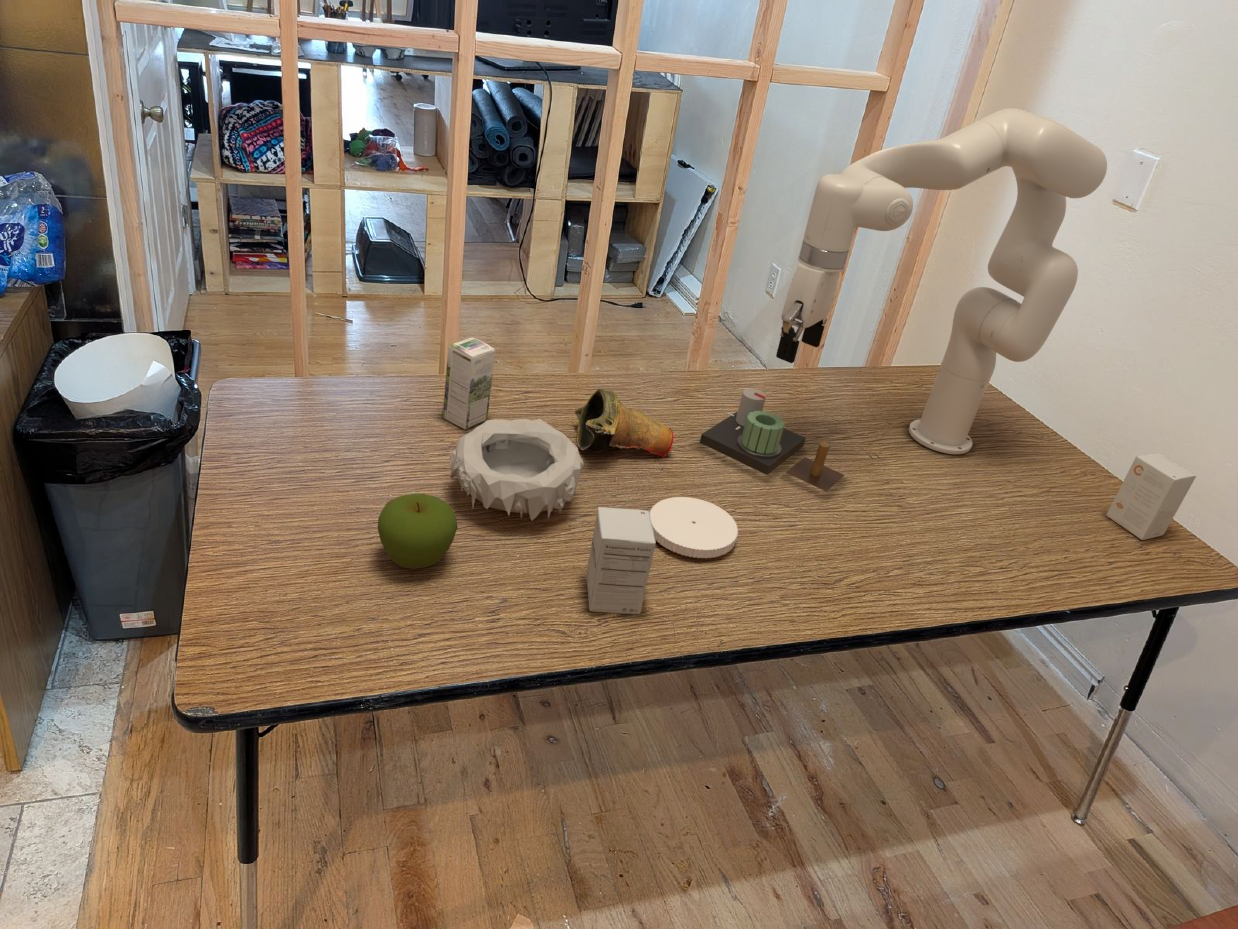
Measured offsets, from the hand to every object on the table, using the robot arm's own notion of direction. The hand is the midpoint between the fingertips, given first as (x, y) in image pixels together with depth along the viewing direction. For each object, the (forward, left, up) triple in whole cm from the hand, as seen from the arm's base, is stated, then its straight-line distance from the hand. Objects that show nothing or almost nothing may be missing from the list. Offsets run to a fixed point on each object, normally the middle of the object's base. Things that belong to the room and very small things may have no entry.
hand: (797, 351), depth 156 cm
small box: (-35, +59, -22) cm, 72 cm away
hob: (-1, -4, -22) cm, 22 cm away
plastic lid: (+31, +3, -22) cm, 38 cm away
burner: (+2, -1, -19) cm, 19 cm away
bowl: (+44, -22, -22) cm, 54 cm away
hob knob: (-4, -7, -19) cm, 21 cm away
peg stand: (-1, +9, -22) cm, 24 cm away
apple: (+66, -21, -22) cm, 73 cm away
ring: (+2, -2, -18) cm, 18 cm away
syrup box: (+32, -44, -22) cm, 59 cm away
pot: (+20, -21, -22) cm, 37 cm away
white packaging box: (+52, +3, -22) cm, 57 cm away
